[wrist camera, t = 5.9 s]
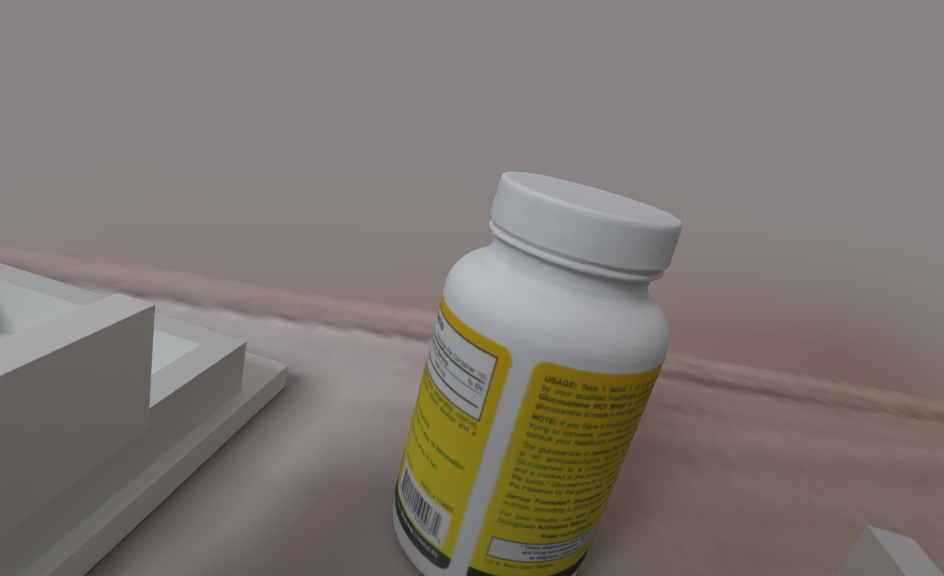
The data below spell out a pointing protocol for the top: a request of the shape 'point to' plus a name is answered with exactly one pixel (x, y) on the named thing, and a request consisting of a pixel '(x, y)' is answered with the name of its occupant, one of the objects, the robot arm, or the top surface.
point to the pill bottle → (534, 382)
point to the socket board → (152, 451)
